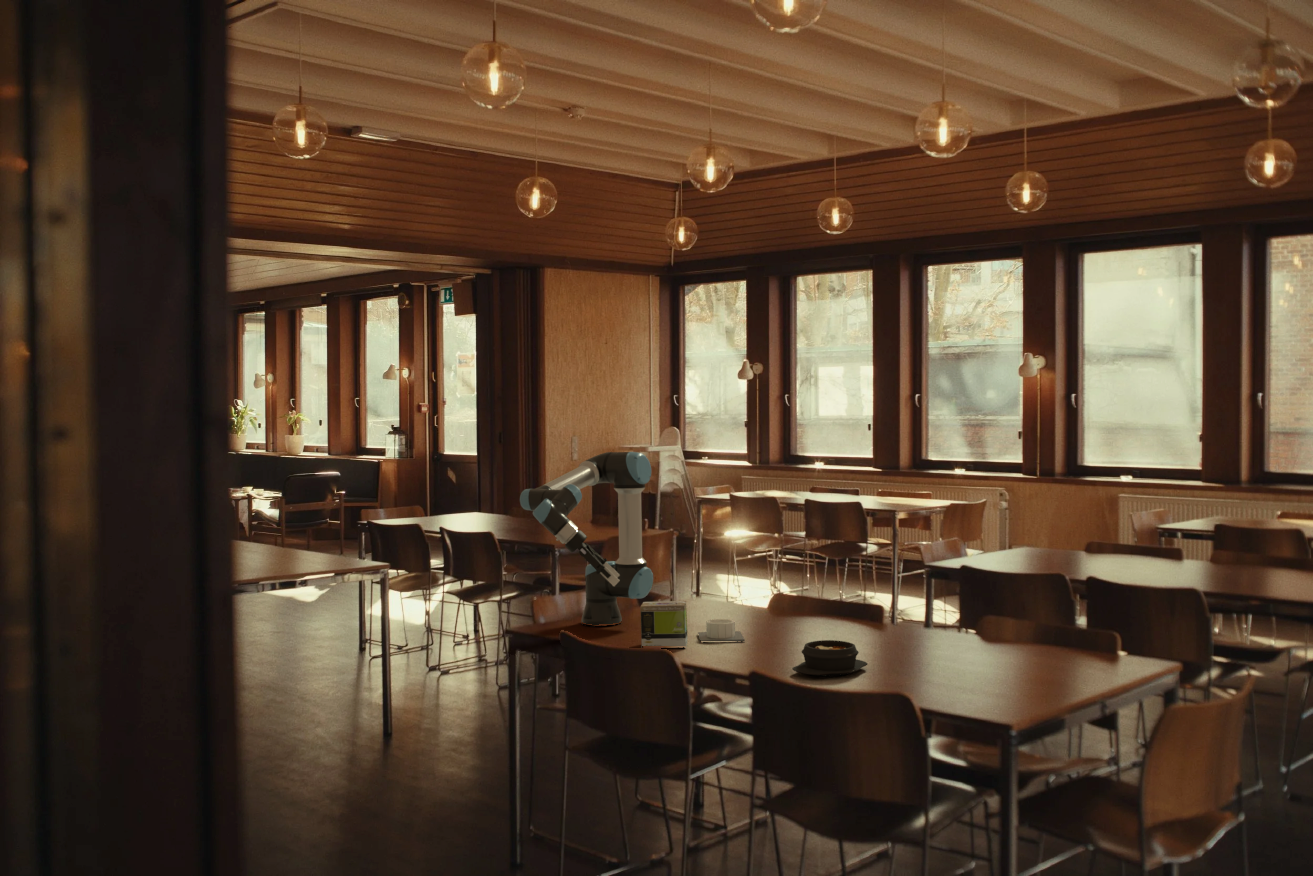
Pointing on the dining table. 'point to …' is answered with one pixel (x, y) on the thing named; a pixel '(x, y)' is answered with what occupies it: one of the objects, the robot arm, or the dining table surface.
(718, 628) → the bowl
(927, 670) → the dining table surface
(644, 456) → the robot arm
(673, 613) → the tea box
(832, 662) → the casserole
